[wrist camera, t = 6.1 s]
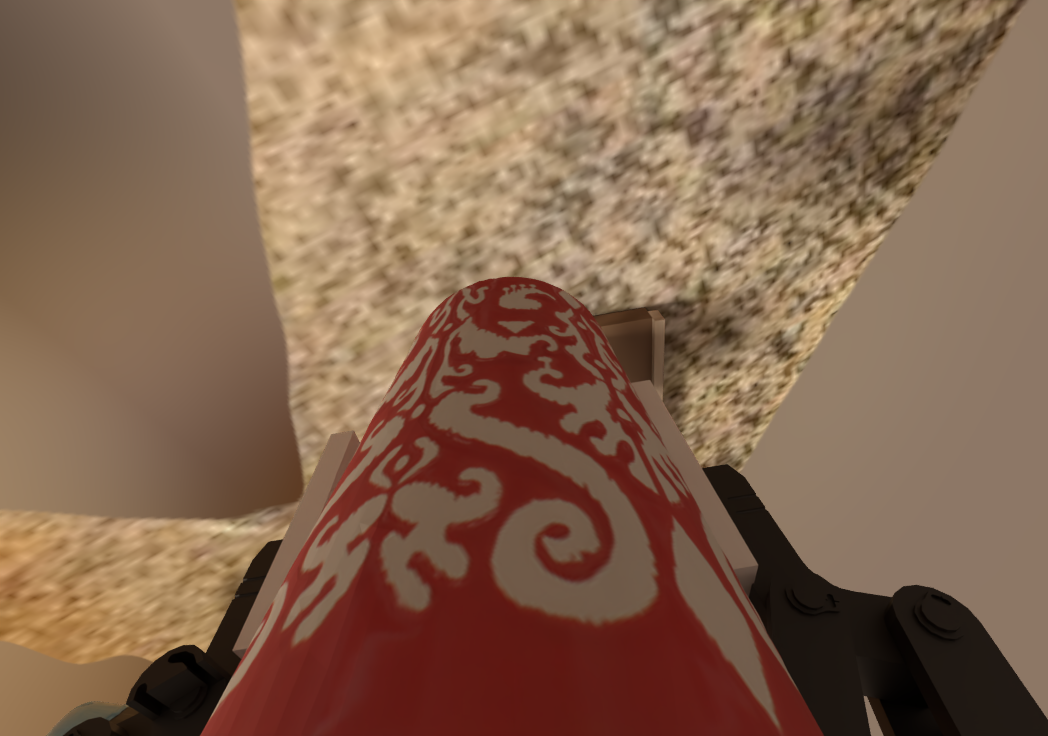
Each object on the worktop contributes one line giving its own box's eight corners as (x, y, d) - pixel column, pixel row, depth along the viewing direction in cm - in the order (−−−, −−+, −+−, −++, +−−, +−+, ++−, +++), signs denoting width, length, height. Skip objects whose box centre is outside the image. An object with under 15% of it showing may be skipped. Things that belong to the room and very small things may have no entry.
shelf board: (514, 519, 49) (516, 539, 47) (468, 337, 36) (466, 353, 34) (651, 496, 49) (659, 515, 46) (654, 305, 36) (665, 319, 34)
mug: (464, 185, 13) (53, 963, 1) (684, 331, 16) (1161, 980, 4) (319, 452, 18) (-1, 1046, 7) (501, 524, 21) (488, 1030, 10)
